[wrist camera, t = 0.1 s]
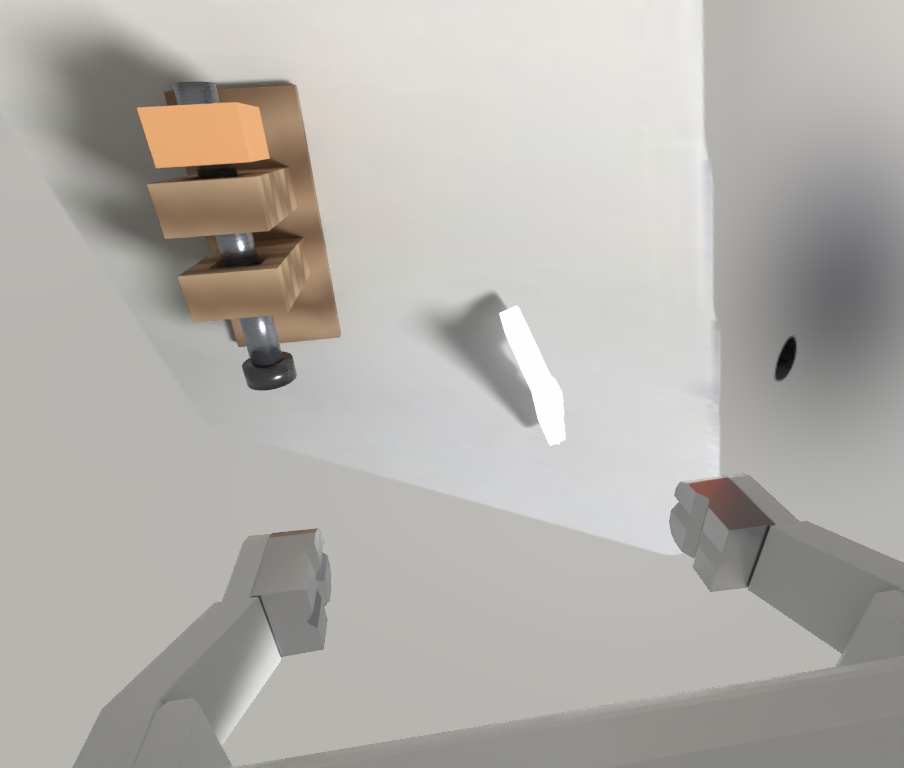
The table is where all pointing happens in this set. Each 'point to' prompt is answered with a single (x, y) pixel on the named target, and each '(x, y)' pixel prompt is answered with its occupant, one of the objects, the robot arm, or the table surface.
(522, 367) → the handgun
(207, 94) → the shaft
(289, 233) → the threaded rod press
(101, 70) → the table surface
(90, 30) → the table surface
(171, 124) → the block
